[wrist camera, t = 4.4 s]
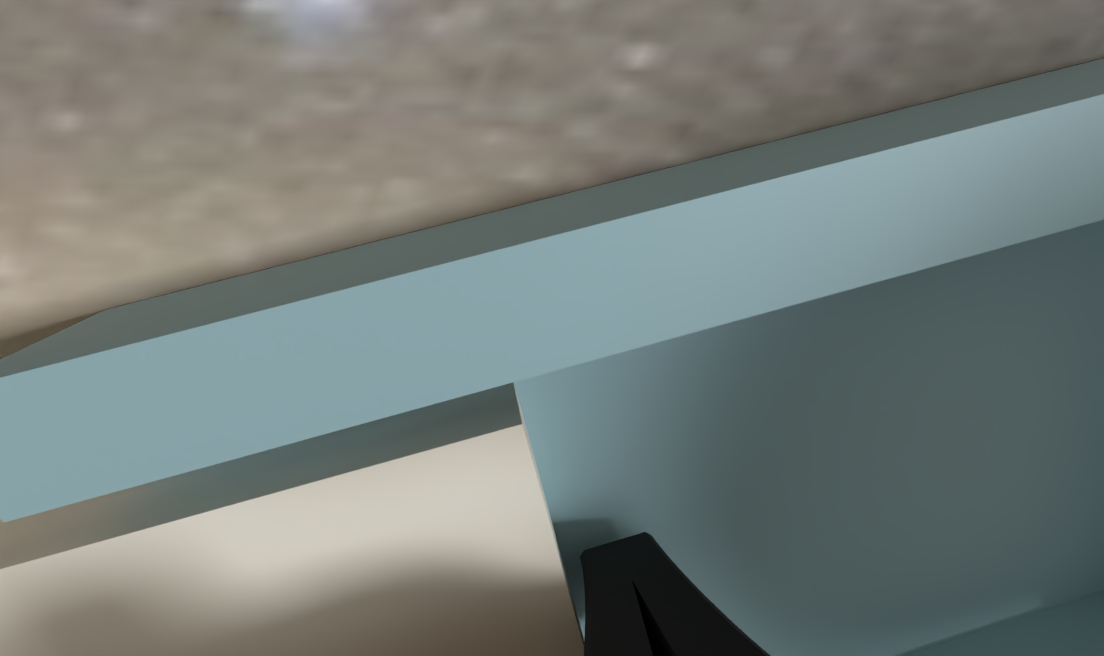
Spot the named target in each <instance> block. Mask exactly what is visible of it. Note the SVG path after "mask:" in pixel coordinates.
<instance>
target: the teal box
mask: <svg viewBox="0 0 1104 656" xmlns="http://www.w3.org/2000/svg"><path fill="white" fill-rule="evenodd" d="M512 382H514V385H515V389H516V392H517V396H518V399H519V403H520V407H521V410H522V414H523V418H524V421H525V425H526V429H527V432H528V436H529V440H530V443H531V447H532V451H533V454H534V458H535V461H536V465H537V469H538V472H539V476H540V480H541V483H542V487H543V491H544V494H545V498H546V502H547V505H548V509H549V513H550V516H551V520H552V523H553V527H554V531H555V534H556V538H557V542H558V545H559V549H560V553H561V556H562V560H563V564H564V567H565V571H566V575H567V578H568V582H569V585H570V589H571V593H572V596H573V600H574V604H575V607H576V611H577V615H578V618H579V622H580V626H581V629H582V633H583V637H585V590H584V578H583V570H582V565H581V560H580V555H581V554H582V553H583V551H584V550H586V549H589V548H593V547H596V546H599V545H603V544H606V543H609V542H613V541H616V540H619V539H623V538H626V537H629V536H633V535H636V534H640V533H643V532H646V533H648V534H650V535H652V536H653V538H654V539H655V540H656V542H657V543H658V544H659V545H660V547H661V548H662V549H663V550H664V552H665V553H666V554H667V555H668V556H669V557H670V559H671V560H672V561H673V562H674V563H675V564H676V565H677V567H678V568H679V569H680V570H681V571H682V572H683V573H684V574H685V575H686V576H687V577H688V578H689V580H690V581H691V582H692V583H693V584H694V585H695V586H696V587H697V588H698V589H699V590H700V591H701V592H702V593H703V594H704V595H705V596H706V597H707V598H708V599H709V600H710V601H711V602H712V603H713V604H714V605H715V606H716V607H717V608H718V609H720V610H721V611H722V612H723V613H724V614H725V615H726V616H727V617H728V618H729V619H730V620H731V621H732V622H733V623H734V624H735V625H736V626H737V627H739V628H740V629H741V630H742V631H743V632H744V633H745V634H746V635H747V636H748V637H750V638H751V639H752V640H753V641H754V642H755V643H757V644H758V645H759V646H760V647H761V648H762V649H763V650H765V651H766V652H767V653H768V654H769V655H770V656H1104V58H1103V59H1099V60H1095V61H1091V62H1087V63H1083V64H1079V65H1075V66H1071V67H1067V68H1063V69H1059V70H1055V71H1051V72H1047V73H1044V74H1040V75H1036V76H1032V77H1028V78H1024V79H1020V80H1016V81H1012V82H1008V83H1004V84H1000V85H996V86H992V87H988V88H984V89H980V90H976V91H972V92H968V93H964V94H960V95H956V96H952V97H948V98H944V99H940V100H936V101H932V102H928V103H924V104H920V105H916V106H912V107H908V108H904V109H901V110H897V111H893V112H889V113H885V114H881V115H877V116H873V117H869V118H865V119H861V120H857V121H853V122H849V123H845V124H841V125H837V126H833V127H829V128H825V129H821V130H817V131H813V132H809V133H805V134H801V135H797V136H793V137H789V138H785V139H781V140H777V141H773V142H769V143H765V144H762V145H758V146H754V147H750V148H746V149H742V150H738V151H734V152H730V153H726V154H722V155H718V156H714V157H710V158H706V159H702V160H698V161H694V162H690V163H686V164H682V165H678V166H674V167H670V168H666V169H662V170H658V171H654V172H650V173H646V174H642V175H638V176H634V177H630V178H626V179H622V180H619V181H615V182H611V183H607V184H603V185H599V186H595V187H591V188H587V189H583V190H579V191H575V192H571V193H567V194H563V195H559V196H555V197H551V198H547V199H543V200H539V201H535V202H531V203H527V204H523V205H519V206H515V207H511V208H507V209H503V210H499V211H495V212H491V213H487V214H483V215H480V216H476V217H472V218H468V219H464V220H460V221H456V222H452V223H448V224H444V225H440V226H436V227H432V228H428V229H424V230H420V231H416V232H412V233H408V234H404V235H400V236H396V237H392V238H388V239H384V240H380V241H376V242H372V243H368V244H364V245H360V246H356V247H352V248H348V249H344V250H340V251H337V252H333V253H329V254H325V255H321V256H317V257H313V258H309V259H305V260H301V261H297V262H293V263H289V264H285V265H281V266H277V267H273V268H269V269H265V270H261V271H257V272H253V273H249V274H245V275H241V276H237V277H233V278H229V279H225V280H221V281H217V282H213V283H209V284H205V285H201V286H198V287H194V288H190V289H186V290H182V291H178V292H174V293H170V294H166V295H162V296H158V297H154V298H150V299H146V300H142V301H138V302H134V303H130V304H126V305H122V306H118V307H114V308H110V309H106V310H104V311H101V312H99V313H97V314H95V315H93V316H91V317H89V318H87V319H85V320H82V321H80V322H78V323H76V324H74V325H72V326H70V327H68V328H65V329H63V330H61V331H59V332H57V333H55V334H53V335H51V336H49V337H46V338H44V339H42V340H40V341H38V342H36V343H34V344H32V345H30V346H27V347H25V348H23V349H21V350H19V351H17V352H15V353H13V354H10V355H8V356H6V357H4V358H2V359H0V518H1V520H2V521H3V522H8V521H11V520H15V519H19V518H22V517H26V516H30V515H33V514H37V513H40V512H44V511H48V510H51V509H55V508H59V507H62V506H66V505H70V504H73V503H77V502H80V501H84V500H88V499H91V498H95V497H99V496H102V495H106V494H109V493H113V492H117V491H120V490H124V489H128V488H131V487H135V486H138V485H142V484H146V483H149V482H153V481H157V480H160V479H164V478H168V477H171V476H175V475H178V474H182V473H186V472H189V471H193V470H197V469H200V468H204V467H207V466H211V465H215V464H218V463H222V462H226V461H229V460H233V459H236V458H240V457H244V456H247V455H251V454H255V453H258V452H262V451H266V450H269V449H273V448H276V447H280V446H284V445H287V444H291V443H295V442H298V441H302V440H305V439H309V438H313V437H316V436H320V435H324V434H327V433H331V432H335V431H338V430H342V429H345V428H349V427H353V426H356V425H360V424H364V423H367V422H371V421H374V420H378V419H382V418H385V417H389V416H393V415H396V414H400V413H403V412H407V411H411V410H414V409H418V408H422V407H425V406H429V405H433V404H436V403H440V402H443V401H447V400H451V399H454V398H458V397H462V396H465V395H469V394H472V393H476V392H480V391H483V390H487V389H491V388H494V387H498V386H502V385H505V384H509V383H512Z"/></svg>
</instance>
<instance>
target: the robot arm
mask: <svg viewBox="0 0 1104 656" xmlns="http://www.w3.org/2000/svg"><path fill="white" fill-rule="evenodd" d="M580 560H581V565H582V570H583V578H584V590H585V637H584V656H770V655H769V654H768V653H767V652H766V651H765V650H763V649H762V648H761V647H760V646H759V645H758V644H757V643H755V642H754V641H753V640H752V639H751V638H750V637H748V636H747V635H746V634H745V633H744V632H743V631H742V630H741V629H740V628H739V627H737V626H736V625H735V624H734V623H733V622H732V621H731V620H730V619H729V618H728V617H727V616H726V615H725V614H724V613H723V612H722V611H721V610H720V609H718V608H717V607H716V606H715V605H714V604H713V603H712V602H711V601H710V600H709V599H708V598H707V597H706V596H705V595H704V594H703V593H702V592H701V591H700V590H699V589H698V588H697V587H696V586H695V585H694V584H693V583H692V582H691V581H690V580H689V578H688V577H687V576H686V575H685V574H684V573H683V572H682V571H681V570H680V569H679V568H678V567H677V565H676V564H675V563H674V562H673V561H672V560H671V559H670V557H669V556H668V555H667V554H666V553H665V552H664V550H663V549H662V548H661V547H660V545H659V544H658V543H657V542H656V540H655V539H654V538H653V536H652V535H650V534H648V533H646V532H643V533H640V534H636V535H633V536H629V537H626V538H623V539H619V540H616V541H613V542H609V543H606V544H603V545H599V546H596V547H593V548H589V549H586V550H584V551H583V553H582V554H581V555H580Z"/></svg>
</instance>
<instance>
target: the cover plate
mask: <svg viewBox="0 0 1104 656" xmlns="http://www.w3.org/2000/svg"><path fill="white" fill-rule="evenodd" d="M0 656H584V637H583V633H582V629H581V626H580V622H579V618H578V615H577V611H576V607H575V604H574V600H573V596H572V593H571V589H570V585H569V582H568V578H567V575H566V571H565V567H564V564H563V560H562V556H561V553H560V549H559V545H558V542H557V538H556V534H555V531H554V527H553V523H552V520H551V516H550V513H549V509H548V505H547V502H546V498H545V494H544V491H543V487H542V483H541V480H540V476H539V472H538V469H537V465H536V461H535V458H534V454H533V451H532V447H531V443H530V440H529V436H528V432H527V429H526V425H525V421H524V418H523V414H522V410H521V407H520V403H519V399H518V396H517V392H516V389H515V385H514V382H512V383H509V384H505V385H502V386H498V387H494V388H491V389H487V390H483V391H480V392H476V393H472V394H469V395H465V396H462V397H458V398H454V399H451V400H447V401H443V402H440V403H436V404H433V405H429V406H425V407H422V408H418V409H414V410H411V411H407V412H403V413H400V414H396V415H393V416H389V417H385V418H382V419H378V420H374V421H371V422H367V423H364V424H360V425H356V426H353V427H349V428H345V429H342V430H338V431H335V432H331V433H327V434H324V435H320V436H316V437H313V438H309V439H305V440H302V441H298V442H295V443H291V444H287V445H284V446H280V447H276V448H273V449H269V450H266V451H262V452H258V453H255V454H251V455H247V456H244V457H240V458H236V459H233V460H229V461H226V462H222V463H218V464H215V465H211V466H207V467H204V468H200V469H197V470H193V471H189V472H186V473H182V474H178V475H175V476H171V477H168V478H164V479H160V480H157V481H153V482H149V483H146V484H142V485H138V486H135V487H131V488H128V489H124V490H120V491H117V492H113V493H109V494H106V495H102V496H99V497H95V498H91V499H88V500H84V501H80V502H77V503H73V504H70V505H66V506H62V507H59V508H55V509H51V510H48V511H44V512H40V513H37V514H33V515H30V516H26V517H22V518H19V519H15V520H11V521H8V522H3V521H2V520H1V518H0Z"/></svg>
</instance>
